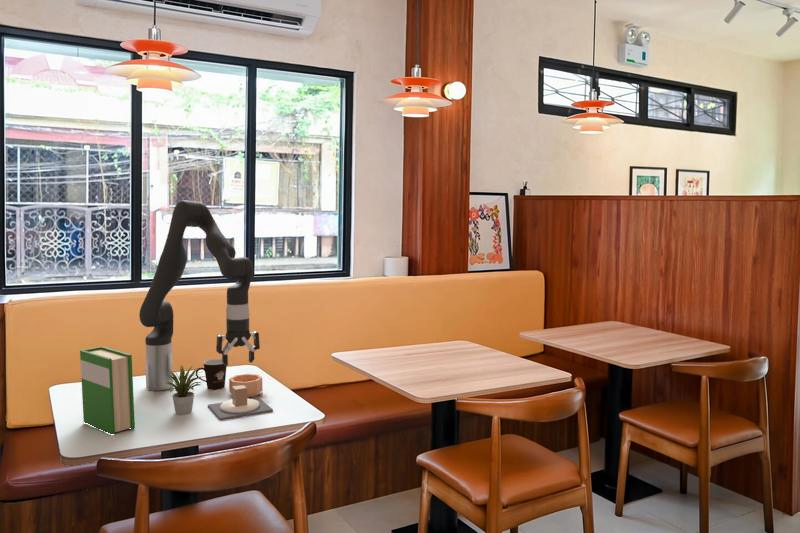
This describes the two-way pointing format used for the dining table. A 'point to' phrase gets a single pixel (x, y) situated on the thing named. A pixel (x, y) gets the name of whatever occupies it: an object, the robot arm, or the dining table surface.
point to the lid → (239, 401)
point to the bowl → (247, 383)
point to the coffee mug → (214, 374)
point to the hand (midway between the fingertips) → (238, 363)
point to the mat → (224, 415)
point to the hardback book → (107, 389)
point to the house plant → (183, 391)
